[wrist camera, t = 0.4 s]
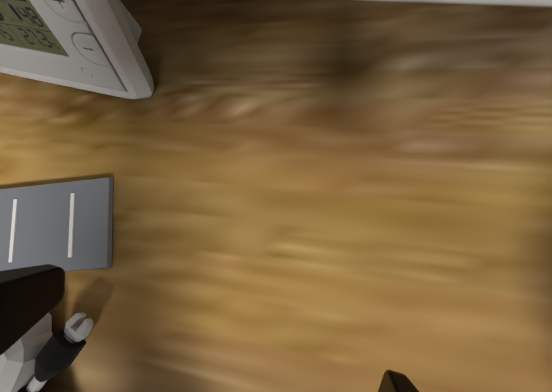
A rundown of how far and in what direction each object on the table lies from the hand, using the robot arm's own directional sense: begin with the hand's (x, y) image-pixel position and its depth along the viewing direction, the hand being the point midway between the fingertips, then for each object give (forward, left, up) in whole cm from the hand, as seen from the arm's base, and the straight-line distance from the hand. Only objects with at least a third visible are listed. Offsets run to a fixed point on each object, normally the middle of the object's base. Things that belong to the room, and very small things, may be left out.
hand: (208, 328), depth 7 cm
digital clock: (+19, +15, -13) cm, 28 cm away
